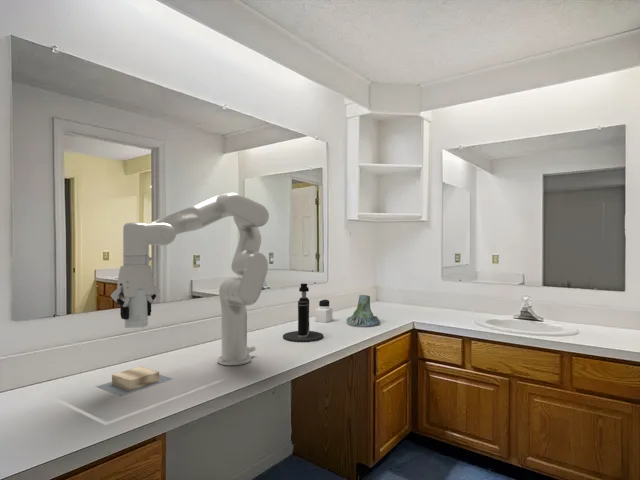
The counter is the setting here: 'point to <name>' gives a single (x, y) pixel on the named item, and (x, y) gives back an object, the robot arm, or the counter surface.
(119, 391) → the slate board
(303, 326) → the vape
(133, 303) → the skincare box
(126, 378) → the birch plinth
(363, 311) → the tree stump
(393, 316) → the counter surface
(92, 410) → the counter surface
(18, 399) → the counter surface
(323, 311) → the medicine bottle
